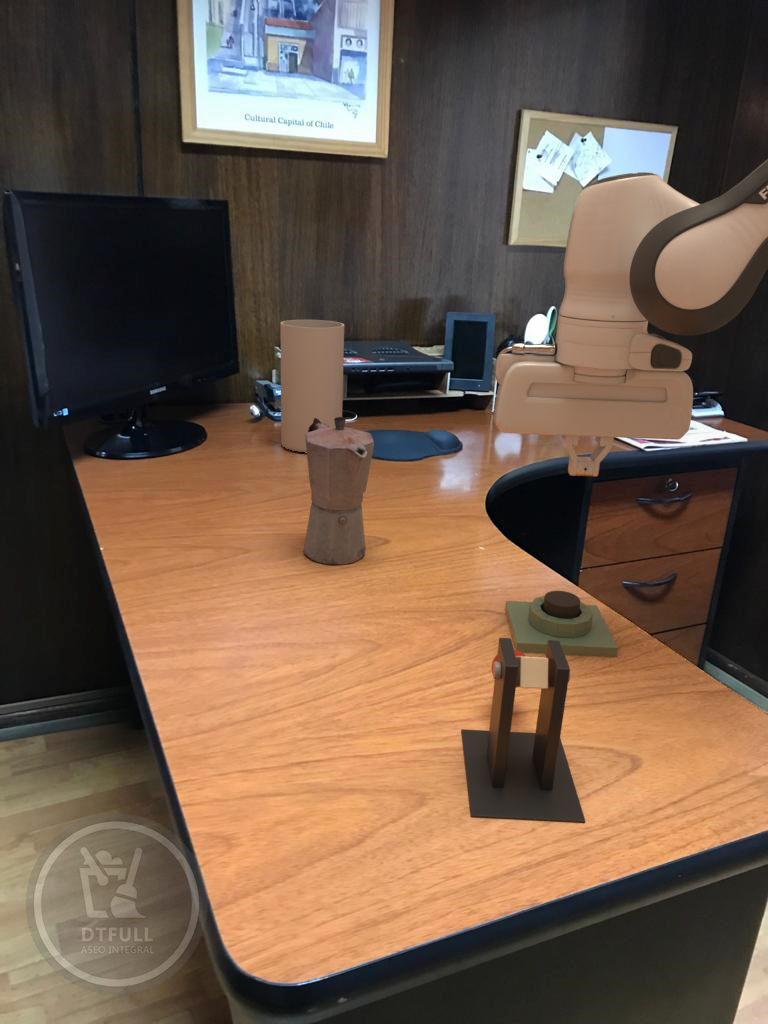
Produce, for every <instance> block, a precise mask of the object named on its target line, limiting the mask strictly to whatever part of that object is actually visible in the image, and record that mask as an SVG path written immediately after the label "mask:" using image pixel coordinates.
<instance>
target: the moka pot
mask: <svg viewBox="0 0 768 1024" xmlns="http://www.w3.org/2000/svg"><path fill="white" fill-rule="evenodd" d="M346 420H347V419H346V417H344V416H342V417H337V418H335V419H334V421H335V427H330V426H329V425H328V424H326V423H321V422H320V421H319V419H317V418H314V420H313V424H312V425H311V426H310V427H309V430H308V433H306V434H305V438H306V448H307V453H306V455H307V456H306V458H307V467H308V468H307V469H308V479H309V486H310V491H311V492H310V496H311V497H310V501H311V503H310V510H309V515H308V521H307V527H306V528H307V529H306V533H305V538H304V545H303V553H304V554H305V556H306V557H308V559H310V560H312V561H314V562H317V563H320V564H323V565H331V566H334V565H335V566H336V565H337V566H342V565H349V564H352V563H356V562H358V561H359V560H361V559H363V557H365V555H366V541H365V540H366V539H365V527H364V517H363V516H364V515H363V505H362V504H363V499H364V493H366V490H367V487H368V480H369V475H370V469H371V462H372V458H373V454H374V447H375V441H374V438H373V437H372V433H370V432H367V431H364V430H360V429H357V428H353V427H345V425H346Z"/></svg>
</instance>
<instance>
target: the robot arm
mask: <svg viewBox="0 0 768 1024" xmlns="http://www.w3.org/2000/svg"><path fill="white" fill-rule="evenodd" d="M767 270H768V158H767V159H765V160H764V161H763V162H762V163H761V164H760V165H759V166H758V167H756V168H755V169H754V170H753V171H752V172H750V173H749V174H748V175H746V177H744V179H742V180H741V181H740V182H738V183H737V184H736V185H734V186H733V187H732V188H730V189H729V190H728V191H726V192H724V193H723V194H722V195H720V196H718V197H715V198H713V199H711V200H709V201H706V202H703V203H698V202H697V201H695V200H694V199H692V198H689V197H688V196H686V195H684V194H683V193H681V192H679V191H677V190H676V189H675V188H673V187H672V186H670V184H668V183H667V182H665V181H664V180H663V177H661V176H660V175H659V174H656V173H653V172H645V171H644V172H643V171H642V172H635V173H633V172H630V173H622V174H616V175H611V176H607V177H604V178H600V179H597V180H594V181H593V182H591V183H589V184H588V185H587V186H585V187H584V188H583V190H581V192H580V193H579V195H578V197H577V198H576V201H575V204H574V206H573V211H572V214H571V219H570V222H569V228H568V234H567V240H566V245H565V254H564V262H563V277H564V285H565V290H564V295H563V298H562V301H561V304H560V307H559V309H558V315H557V316H558V317H557V324H556V325H557V326H556V335H555V343H554V344H553V343H533V344H532V343H531V344H528V343H524V342H517V343H516V342H515V343H512V344H511V346H508V347H506V348H503V349H502V350H501V351H500V352H499V353H498V354H497V357H496V360H495V367H494V369H495V370H494V377H495V380H496V382H497V383H498V386H497V391H496V395H495V401H494V405H493V406H494V408H493V415H492V416H493V417H492V419H493V423H494V425H495V426H496V428H497V429H498V430H499V431H500V433H503V434H518V435H519V434H520V435H541V436H542V435H543V436H544V435H547V436H561V439H560V441H561V444H562V445H563V447H564V450H565V451H566V453H567V456H568V467H567V471H568V475H569V476H572V477H573V476H574V477H575V476H577V477H580V476H582V477H598V476H599V473H600V465H601V462H602V461H603V460H604V459H605V458H606V457H607V455H608V454H609V453H610V451H611V450H612V449H613V448H614V440H615V438H624V439H625V438H626V439H648V440H649V439H650V440H651V439H652V440H681V439H682V438H683V437H684V436H685V435H686V434H687V433H688V432H689V431H690V427H691V424H692V423H691V421H692V415H693V406H694V405H693V402H694V386H693V382H692V379H691V377H690V376H689V375H688V374H687V372H685V371H687V370H689V368H690V367H691V364H692V360H693V353H692V352H691V351H690V350H689V349H688V348H686V347H685V346H683V345H681V344H679V343H677V342H674V341H671V340H668V339H666V338H665V337H664V336H662V335H659V334H656V333H654V332H652V333H649V330H648V324H649V323H650V324H651V325H653V326H654V327H655V328H657V329H659V330H662V331H663V332H665V333H669V334H671V335H677V336H686V337H689V336H698V335H699V336H700V335H705V334H708V333H710V332H713V331H716V330H718V329H720V328H722V327H723V326H725V325H727V324H728V323H730V322H731V321H732V320H734V319H735V318H736V317H737V316H738V315H739V314H740V313H741V312H742V310H743V309H744V308H745V307H746V306H747V304H748V303H749V301H750V300H751V299H752V297H753V296H754V293H755V292H756V290H757V288H758V286H759V285H760V283H761V281H762V279H763V277H764V275H765V273H766V272H767ZM508 352H511V353H508ZM580 437H595V438H594V440H595V442H596V443H597V444H598V445H597V446H596V447H595V449H594V450H593V451H592V453H591V454H590V456H578V455H577V453H576V451H575V448H574V446H578V445H579V440H580Z"/></svg>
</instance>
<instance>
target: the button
mask: <svg viewBox="0 0 768 1024" xmlns="http://www.w3.org/2000/svg"><path fill="white" fill-rule="evenodd" d="M544 596H545V597H544V604H543V612H545V613H546V614H548V615H549V616H553V617H556V618H561V619H572V618H576V617H578V615H579V608H580V601H581V598H580V597H578V596H577V595H576V594H575V593H572V592H569V591H564V590H550V591H548V592H546V593H545V594H544Z"/></svg>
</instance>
